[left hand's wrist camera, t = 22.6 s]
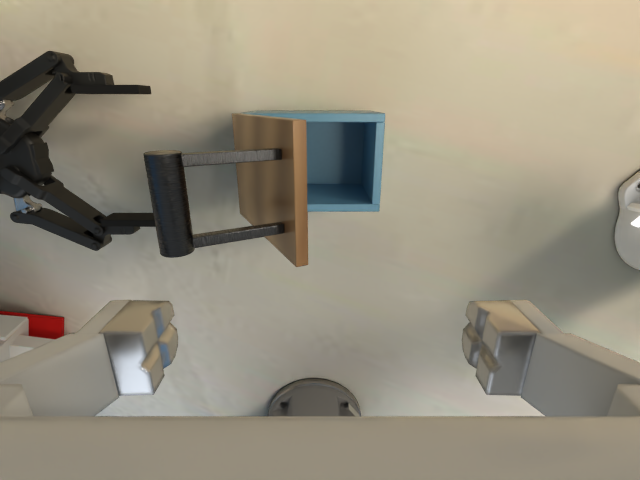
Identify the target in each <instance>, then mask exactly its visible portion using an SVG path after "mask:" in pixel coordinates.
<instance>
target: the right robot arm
mask: <svg viewBox="0 0 640 480" xmlns="http://www.w3.org/2000/svg"><path fill="white" fill-rule="evenodd" d="M52 79H53V80H52ZM50 80H52V81H51V82H50V83H49V84H48V86H47V87H46V88H45V89H44V90H43V92H42V93H41V94H40V95H39V96H38V97H37V99H36V100H35V101H34V102H33V103H32V105H31V106H30V107H29V108H28V109H27V111H26V112H25V113H24V114H23V115H22V116H21V117H20V118H18V119H16V120H15V121H14V120H13V119H11V118H9V117H6V111H7V110H8V109H10V108H11V106H13V105H14V102H13V101H14V100H18V99H21V98H23V97H24V96H26V95H28V94H29V93H31V92H32V91H34V90H36V89H37V88H39V87H40V86H42V85H44V84H45V83H47V82H48V81H50ZM75 94H151V89H150V86H142V85H114V82H113V77H112V75H110V74H107V73H100V72H79V71H77V70H76V68H75V66H74V59H73V58H72V56H70V55H69V54H64V53H58V52H53V51H48V52H46V53H44V54H43V55H41V56H40V57H38V58H36V59H35V60H33V61H32V62H30V63H29V64H27V65H26V66H24V67H22V68H21V69H19V70H18V71H16V72H15V73H13V74H12V75H10V76H9V77H7V78H5V79H4V80H2V81H1V82H0V194H6V195H9V196H11V197H13V198H14V202H15V207H16V212H13V213H11V215H10V218H11V220H12V221H14V222H16V223H24V224H33V225H35V226H37V227H40V228H42V229H44V230H47V231H49V232H52V233H54V234H56V235H59V236H61V237H64V238H66V239H68V240H71V241H73V242H75V243H78V244H80V245H83V246H85V247H87V248H90V249H92V250H95V251H97V250H99V249H101V248H103V247H104V246H106V245H107V244H109V243H110V242H111V241H112V237H111V234H133V233H135V232H136V231H138V230H139V229H140V227H156V225H155V219H154V213H113V214H111V215H109V216H107V217H106V216H105V215H103V214H102V213H101V212H99V211H98V210H96V209H95V208H93V207H92V206H91V205H89V204H88V203H86V202H85V201H83V200H82V199H80V198H79V197H78V196H76V195H75V194H73V193H72V192H70V191H69V190H67V189H66V188H65V187H64V186H63V183H62V182H60V181H59V180H57V179H56V178H54V177H53V176H52V175H51V173H52V172H54V169H53V165H52V163H51V161H50V159H49V157H48V146H47V143H44V142H43V140H42V139H41V136H42V135H43V134H44V133H45V132H46V131H47V130H48V128H49V126H48V125H49V124H50V123H51V122H52V120H53V119H54V118H55V117H56V116H57V115H58V114H59V112H60V111H61V110H62V109H63V108H64V107H65V106H66V104H67V103H68V102H69V101H70V100H71V99H72V98H73V96H74V95H75ZM43 184H44V186H42V185H43ZM30 195H32V196H33V197H35V198H37V199H41V200H44V201H46V202H47V203H49V204H50V205H52V206H53V207H55V208H56V209H58V210H59V211H61V212H62V213H64V214H65V215H67V216H68V217H67V216H65V215H62V214H60V213H58V212H55V211H53V210H50V209H47V208H42V205H41V204H40V203H38V204H37V203H35V202H33V201H31V200H30V198H29V196H30ZM69 217H70V218H69ZM268 416H361V414H360V408H359V404H358V402H357V400H356V398H355V397H354V396H353V394H352V393H351V392H350V391H349V390H347V389H346V388H345V387H343V386H341V385H340V384H337V383H335V382H332V381H329V380H324V379H304V380H300V381H296V382H293V383H291V384H289V385H287V386H285V387H284V388H282V389H281V390H280V391H279V392H278V393H277V394H276V395H275V396H274V398H273V399H272V401H271V404H270V407H269V412H268Z"/></svg>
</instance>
